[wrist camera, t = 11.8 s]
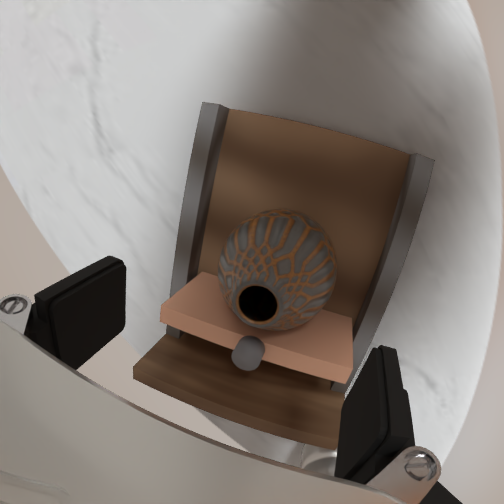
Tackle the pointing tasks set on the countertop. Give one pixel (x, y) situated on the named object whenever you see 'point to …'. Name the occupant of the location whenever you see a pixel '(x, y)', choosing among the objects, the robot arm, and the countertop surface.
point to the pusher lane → (327, 216)
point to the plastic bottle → (318, 459)
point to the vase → (277, 269)
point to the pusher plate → (262, 333)
